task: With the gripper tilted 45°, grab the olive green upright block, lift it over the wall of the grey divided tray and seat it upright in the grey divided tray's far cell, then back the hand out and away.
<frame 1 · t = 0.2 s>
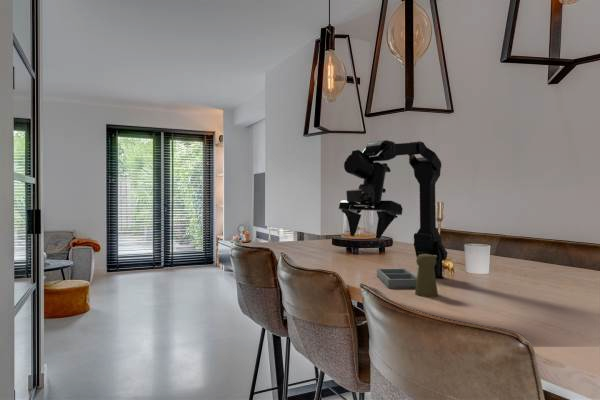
hand: (364, 237, 117), 16 cm above the table, tool pointing down, fingers open, 9 cm apart
olive green upright block: (426, 295, 115), on the table
grey divided tray: (397, 281, 132), on the table
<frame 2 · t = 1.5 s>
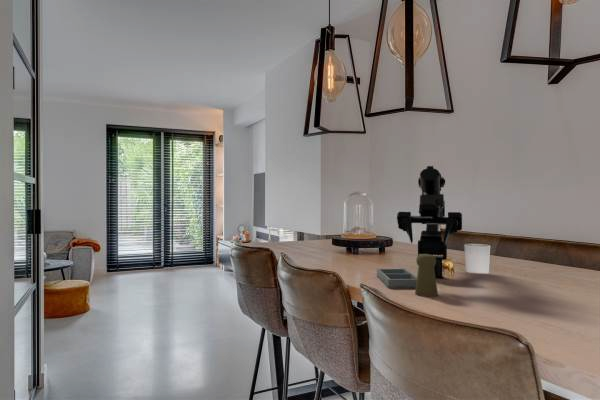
hand: (427, 242, 122), 13 cm above the table, tool tilted 45°, fingers open, 9 cm apart
nothing on the table moved.
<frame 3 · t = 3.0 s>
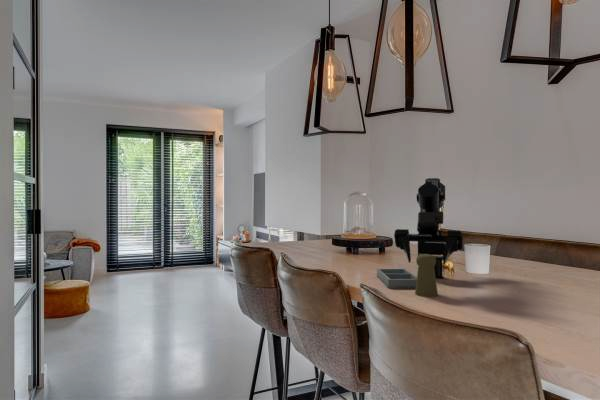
hand: (426, 262, 116), 9 cm above the table, tool tilted 45°, fingers open, 9 cm apart
nothing on the table moved.
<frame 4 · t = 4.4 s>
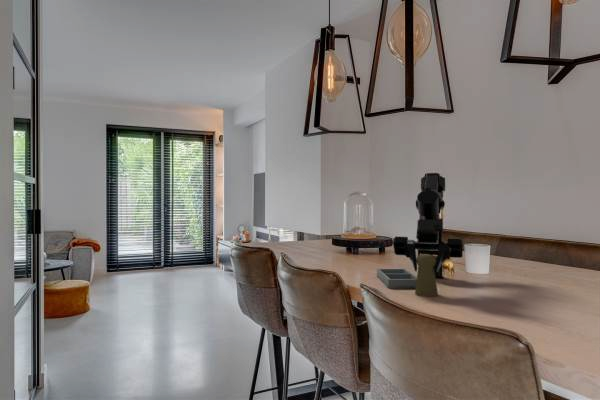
hand: (425, 271, 114), 7 cm above the table, tool tilted 45°, fingers closed on olive green upright block, 5 cm apart
olive green upright block: (426, 294, 115), on the table, touching gripper
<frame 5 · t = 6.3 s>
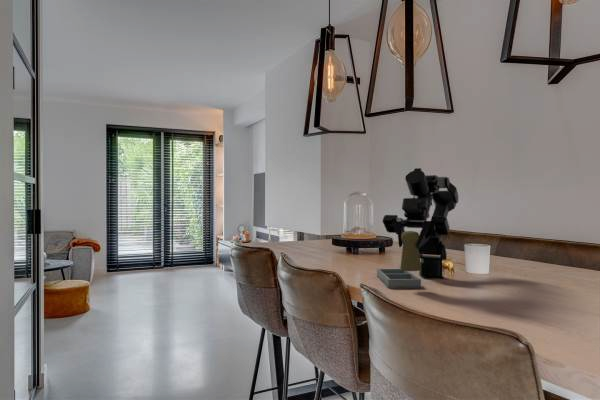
hand: (408, 246, 120), 12 cm above the table, tool tilted 45°, fingers closed on olive green upright block, 5 cm apart
olive green upright block: (410, 269, 121), point 6 cm above the table, touching gripper
when the fingers open (8 cm above the table, at t = 8.1 s): olive green upright block drops 1 cm, resting on grey divided tray.
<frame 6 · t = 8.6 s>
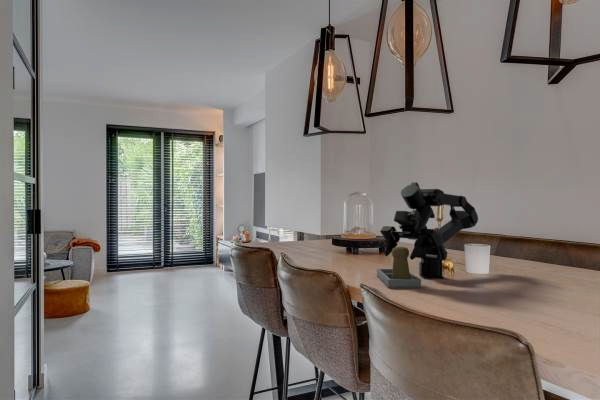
hand: (397, 257, 127), 9 cm above the table, tool tilted 45°, fingers open, 9 cm apart
olive green upright block: (401, 283, 128), resting on grey divided tray
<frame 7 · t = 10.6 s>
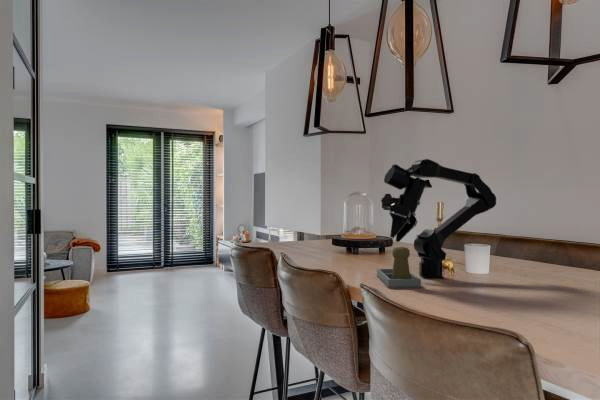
hand: (394, 239, 136), 13 cm above the table, tool tilted 25°, fingers open, 9 cm apart
nothing on the table moved.
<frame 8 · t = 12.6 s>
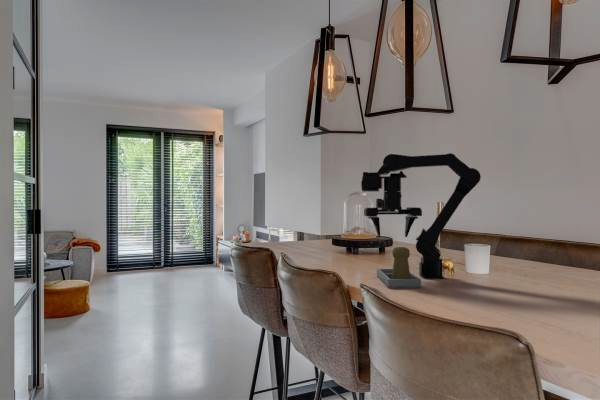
hand: (392, 237, 143), 13 cm above the table, tool pointing down, fingers open, 9 cm apart
nothing on the table moved.
at the end: olive green upright block 0.1 cm from the target spot on the grey divided tray, point 0.2 cm above the grey divided tray's base; olive green upright block tilted 0°; the gripper is holding nothing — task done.
